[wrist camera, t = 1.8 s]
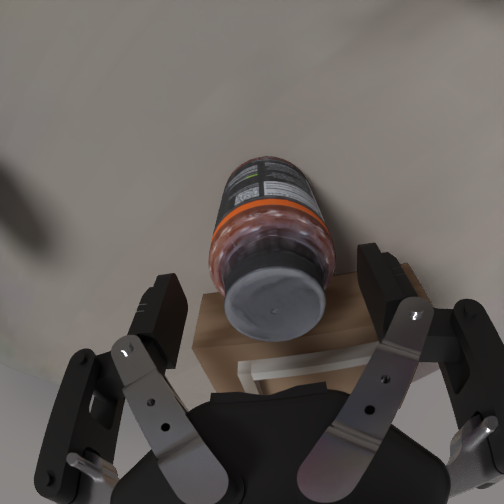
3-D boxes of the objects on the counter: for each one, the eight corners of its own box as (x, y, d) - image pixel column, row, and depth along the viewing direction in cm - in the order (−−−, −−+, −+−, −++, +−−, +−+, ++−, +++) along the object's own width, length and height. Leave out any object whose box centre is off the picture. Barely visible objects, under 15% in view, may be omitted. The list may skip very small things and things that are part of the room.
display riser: (407, 263, 24) (441, 322, 18) (388, 367, 33) (402, 417, 27) (203, 294, 26) (189, 361, 20) (242, 388, 35) (240, 440, 29)
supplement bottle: (275, 245, 23) (283, 372, 14) (208, 203, 21) (170, 321, 12) (327, 187, 20) (380, 297, 11) (257, 136, 19) (256, 213, 9)
